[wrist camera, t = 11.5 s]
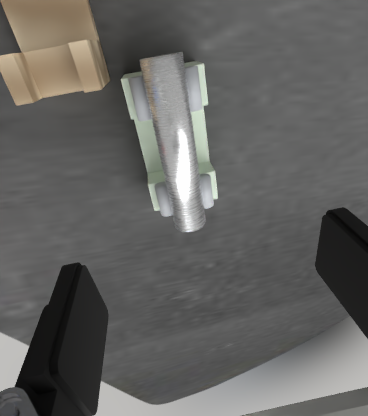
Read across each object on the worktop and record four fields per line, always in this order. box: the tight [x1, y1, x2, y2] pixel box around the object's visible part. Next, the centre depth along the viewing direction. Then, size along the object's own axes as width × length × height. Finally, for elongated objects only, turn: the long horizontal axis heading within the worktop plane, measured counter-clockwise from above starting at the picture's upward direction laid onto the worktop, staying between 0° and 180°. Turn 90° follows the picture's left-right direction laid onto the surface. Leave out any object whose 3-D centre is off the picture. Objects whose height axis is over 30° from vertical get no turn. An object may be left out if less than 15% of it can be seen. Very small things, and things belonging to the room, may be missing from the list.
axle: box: [139, 52, 206, 232], centre depth 22 cm, size 14×3×3 cm, turn 9°
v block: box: [121, 61, 218, 216], centre depth 25 cm, size 12×6×5 cm, turn 9°
